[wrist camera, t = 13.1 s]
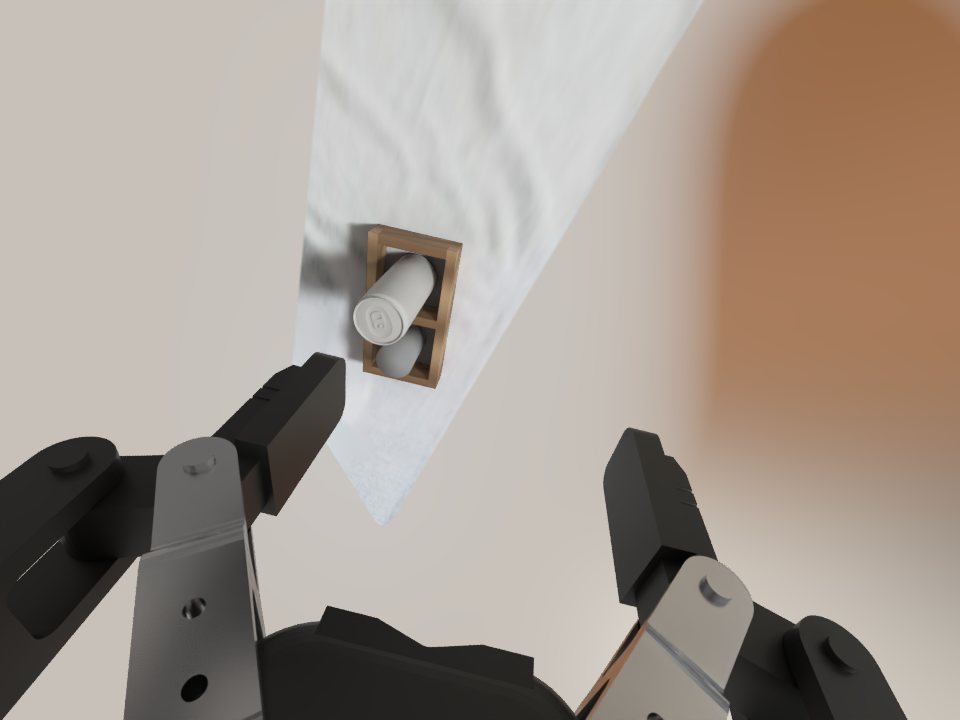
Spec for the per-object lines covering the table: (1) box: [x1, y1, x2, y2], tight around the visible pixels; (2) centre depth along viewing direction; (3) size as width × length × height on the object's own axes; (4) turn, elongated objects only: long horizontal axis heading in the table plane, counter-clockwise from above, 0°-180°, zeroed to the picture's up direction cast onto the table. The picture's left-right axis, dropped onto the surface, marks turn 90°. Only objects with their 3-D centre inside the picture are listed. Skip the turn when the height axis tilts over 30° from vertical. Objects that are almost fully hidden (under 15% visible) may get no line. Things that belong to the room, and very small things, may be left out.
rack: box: [363, 224, 463, 389], centre depth 46 cm, size 17×9×3 cm, turn 170°
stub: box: [376, 324, 426, 378], centre depth 47 cm, size 4×4×6 cm
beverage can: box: [353, 254, 437, 345], centre depth 40 cm, size 5×5×12 cm
